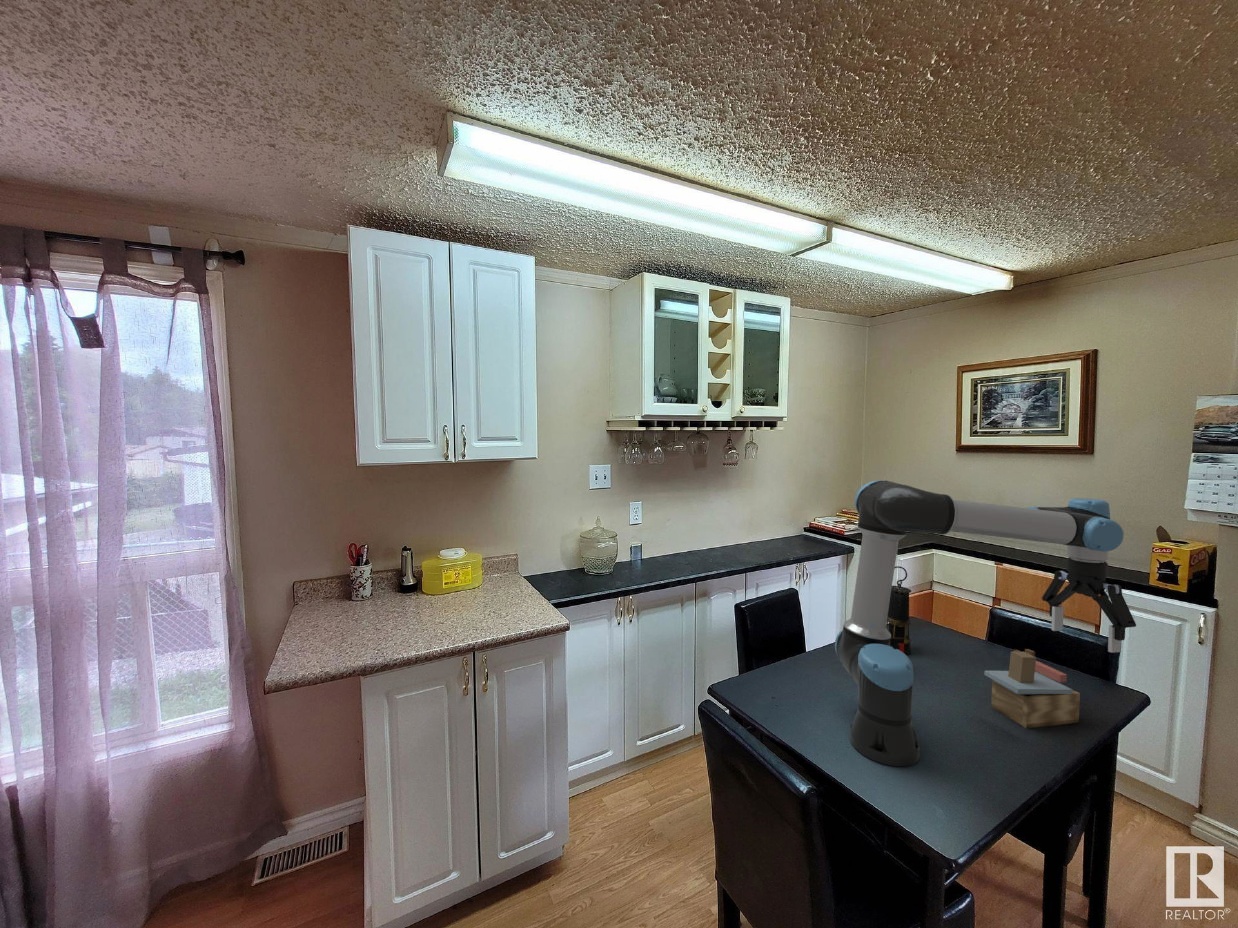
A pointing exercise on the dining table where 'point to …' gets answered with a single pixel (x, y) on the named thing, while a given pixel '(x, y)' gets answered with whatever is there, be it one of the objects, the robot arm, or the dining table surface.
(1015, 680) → the lid
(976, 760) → the dining table surface
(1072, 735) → the dining table surface
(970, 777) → the dining table surface
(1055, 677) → the bar
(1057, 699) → the open wooden box
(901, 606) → the lantern
